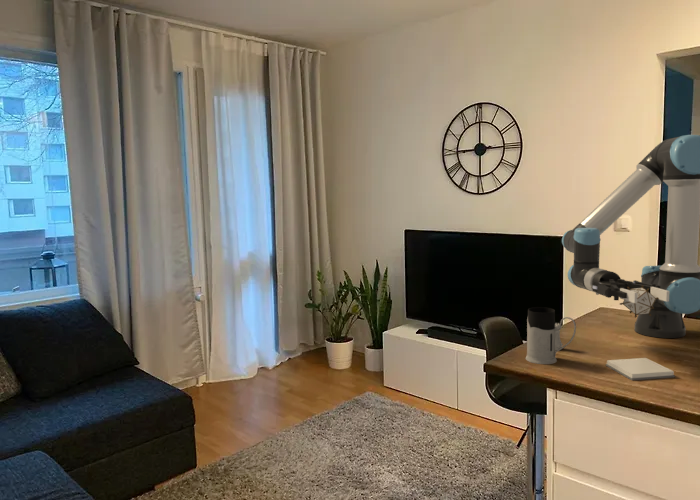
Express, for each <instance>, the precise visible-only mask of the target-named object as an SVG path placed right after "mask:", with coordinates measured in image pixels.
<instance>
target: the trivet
mask: <svg viewBox="0 0 700 500" xmlns="http://www.w3.org/2000/svg"><path fill="white" fill-rule="evenodd" d="M605 366H606V367H608V368H609V369H610V370H613V371H614V372H616V373H618V374H619V375H621V376H624V377H625V378H626V379H628V380H631V381H642V380H654V379H655V380H656V379H658V380H659V379H670V378H671V379H672V378H675V377H676V375H675V372H674V370H672V369H671V368H668V367H666V366H663V365H661V364H659V363H657V362H655V361H653V360H651V359H649V358H647V357H638V358H637V357H636V358H627V359H626V358H624V359H621V358H620V359H611V360H610V359H608V360H606V363H605Z"/></svg>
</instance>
